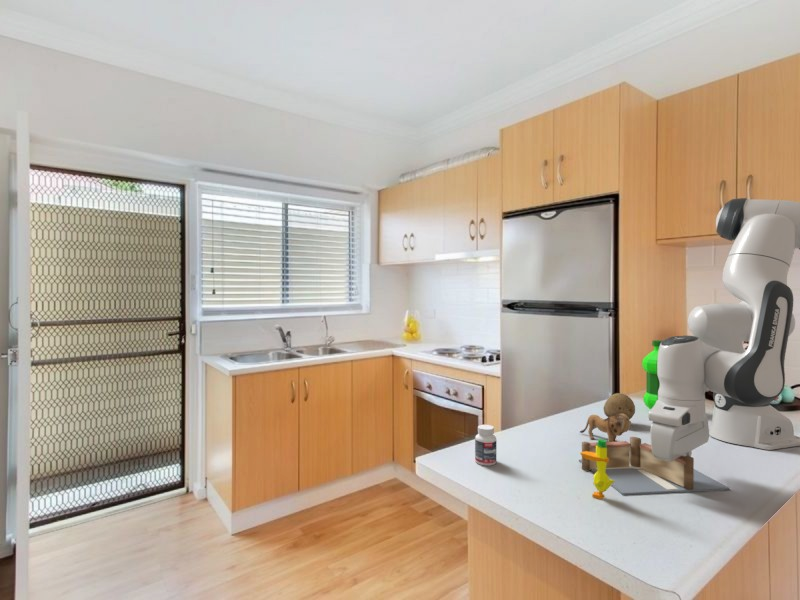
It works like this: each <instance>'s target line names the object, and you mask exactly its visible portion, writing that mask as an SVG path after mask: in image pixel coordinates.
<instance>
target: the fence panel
mask: <svg viewBox="0 0 800 600" xmlns="http://www.w3.org/2000/svg"><path fill="white" fill-rule="evenodd" d="M694 464H695V463H694V457H692V456H691V457H690V456H684V457H682V456H681V457H679V458H677V459H675V460H673V461H671V462H668V461H664V460H661V459H658V458H655V457H654V455H653V453H652V449H651V444H648V443H646V442H645V443H641V444H640V468H641V469H644V470H646V471H648V472H651V473H653V474H655V475H657V476H660V477H662V478H664V479H667V480H669V481H671V482H673V483H676V484H678V485H680V486H683V487H684V488H687V489H694V469H695V468H694Z"/></svg>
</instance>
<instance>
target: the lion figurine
mask: <svg viewBox="0 0 800 600" xmlns="http://www.w3.org/2000/svg"><path fill="white" fill-rule="evenodd" d="M631 425H632V421H631V420H629V417H627V415H626V414H617V415H614V416H612V417H607V418H602V417H601V416H599V415H597V414H591V415H589V417H588V418H587V422H586V425H585V427H584V429H581V431H579V433H581V434H583V433H585V432H586V430H587V429H588V435H589V440H595V437H594V436H593V435H594V433H593V430H594V429H598V430H599V431H600V432H602V433H606V434H607V439H608V440H607V441H608V442H618V441H617V440H616V438H617V437H618V436H619V437H620V436H622V435H623V433H627V432H628V431H629V429H630V428H631Z"/></svg>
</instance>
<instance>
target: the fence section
mask: <svg viewBox="0 0 800 600" xmlns="http://www.w3.org/2000/svg"><path fill="white" fill-rule="evenodd" d="M596 443H598V441H597V442H589V441H582V442H581V452H584V451H588V452H594V453H596ZM640 444H642V438H640V437H637V436H636V437H635V436H630V437H629V442H628V441H626V440H625V441H623V440H622V441H617V442H609V441H606V445H607V457H608V458H609V462H607V464H606V468H616V467H630V465H631V466H633V467H640ZM581 459H582V463H581V470H582V471H585V472H590V471H591V470H590V469H596V468H597V462H596V461H592V460H588V459H585V458H583V456H582V455H581Z"/></svg>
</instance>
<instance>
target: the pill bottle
mask: <svg viewBox="0 0 800 600" xmlns="http://www.w3.org/2000/svg"><path fill="white" fill-rule="evenodd" d="M494 434H495V427H494V426H493V425H491V424H480V425H478V426H477V434H476V435H475V438H474V439H475V440H474V461H475V462H476V463H477V464H478V465H481V466H487V467H488V466H489V467H490V466H493V465H495V464H497V437H496V436H495V435H494Z"/></svg>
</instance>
